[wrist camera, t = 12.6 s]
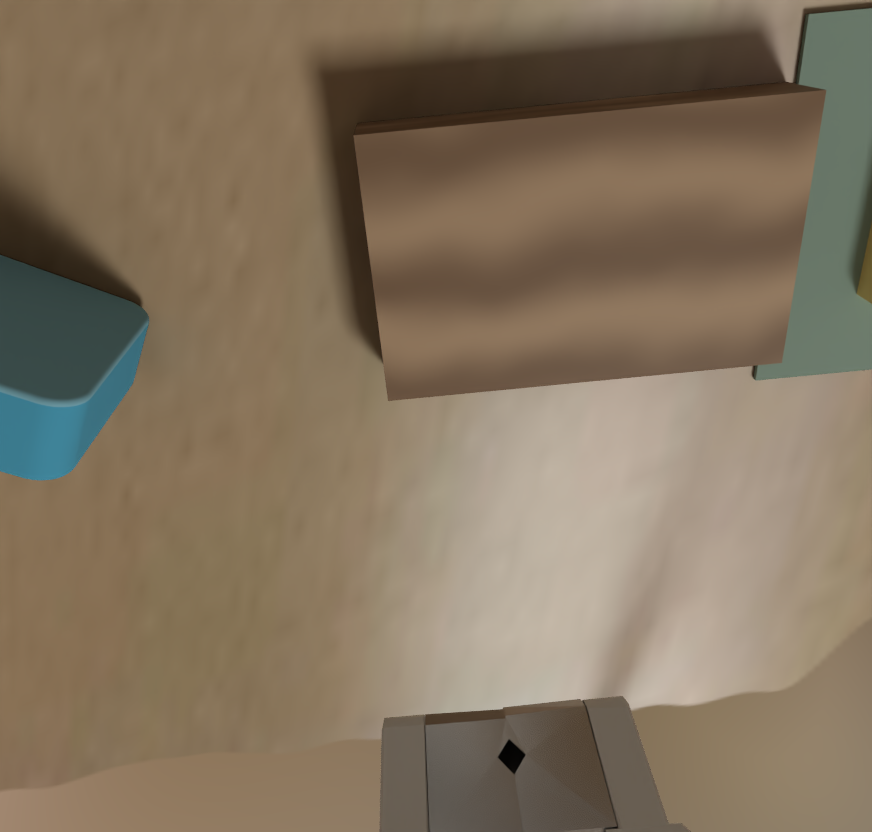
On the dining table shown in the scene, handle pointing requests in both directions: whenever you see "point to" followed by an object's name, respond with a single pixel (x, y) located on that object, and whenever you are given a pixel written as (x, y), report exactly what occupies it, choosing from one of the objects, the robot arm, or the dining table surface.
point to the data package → (60, 367)
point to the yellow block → (866, 272)
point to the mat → (834, 205)
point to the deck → (587, 237)
